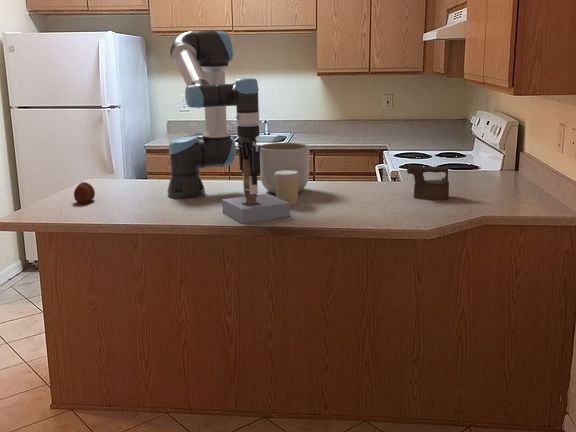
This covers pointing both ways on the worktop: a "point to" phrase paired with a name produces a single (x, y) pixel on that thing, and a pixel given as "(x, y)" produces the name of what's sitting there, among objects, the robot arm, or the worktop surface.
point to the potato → (84, 193)
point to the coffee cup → (287, 185)
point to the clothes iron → (429, 183)
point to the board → (256, 208)
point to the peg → (249, 197)
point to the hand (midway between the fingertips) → (250, 192)
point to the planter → (283, 162)
